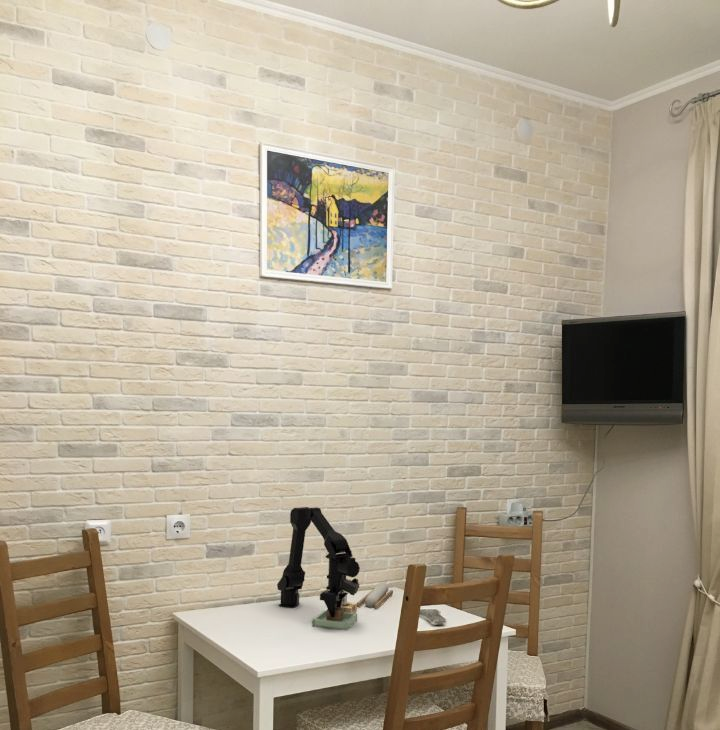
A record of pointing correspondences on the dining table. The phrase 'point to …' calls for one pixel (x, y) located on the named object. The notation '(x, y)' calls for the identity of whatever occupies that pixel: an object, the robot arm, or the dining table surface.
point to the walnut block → (336, 615)
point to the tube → (376, 594)
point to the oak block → (350, 608)
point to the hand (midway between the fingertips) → (335, 615)
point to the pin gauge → (344, 601)
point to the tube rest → (378, 601)
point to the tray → (343, 625)
